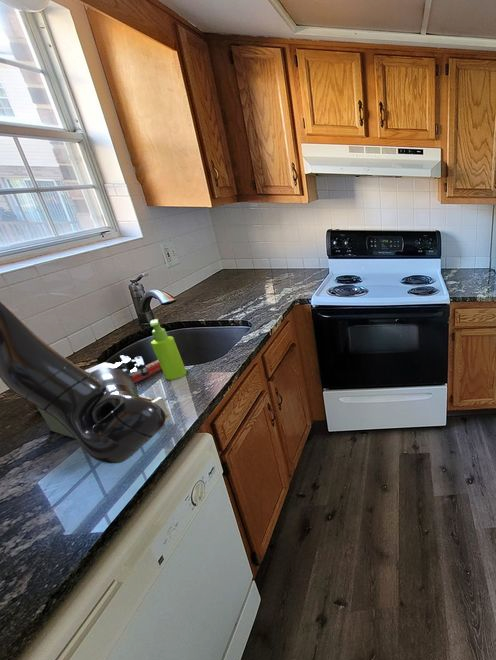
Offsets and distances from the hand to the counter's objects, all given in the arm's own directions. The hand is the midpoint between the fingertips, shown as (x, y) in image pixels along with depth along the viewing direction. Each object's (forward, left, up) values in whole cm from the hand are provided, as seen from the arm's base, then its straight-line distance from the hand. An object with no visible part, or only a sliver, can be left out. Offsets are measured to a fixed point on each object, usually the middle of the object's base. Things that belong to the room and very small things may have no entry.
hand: (98, 366), depth 79 cm
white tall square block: (+4, +10, -21) cm, 24 cm away
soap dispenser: (+28, +26, -24) cm, 45 cm away
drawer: (+4, +8, -22) cm, 24 cm away
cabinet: (+4, +23, -23) cm, 33 cm away
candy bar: (+26, +36, -24) cm, 51 cm away
